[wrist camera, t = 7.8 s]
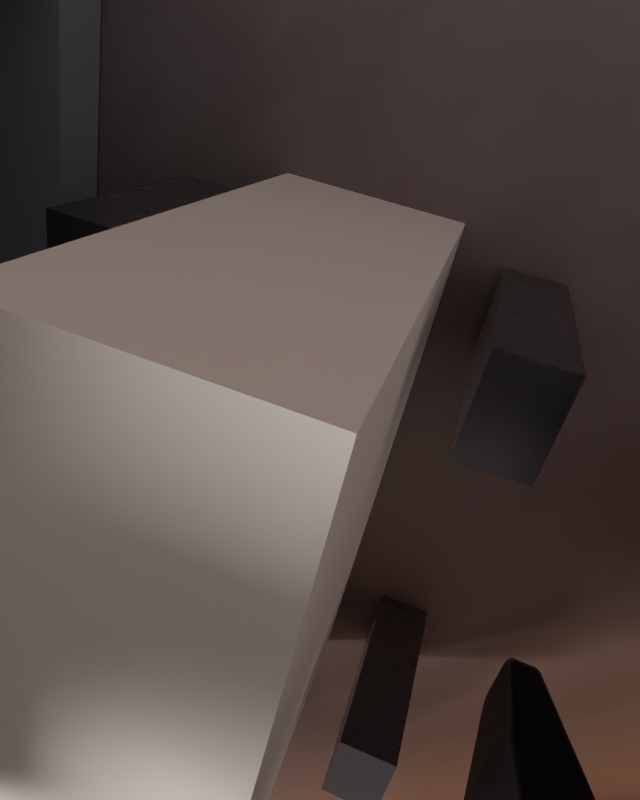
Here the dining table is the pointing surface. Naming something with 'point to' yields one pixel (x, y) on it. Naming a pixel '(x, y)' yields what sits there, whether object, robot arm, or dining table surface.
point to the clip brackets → (473, 444)
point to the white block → (194, 478)
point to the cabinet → (46, 114)
